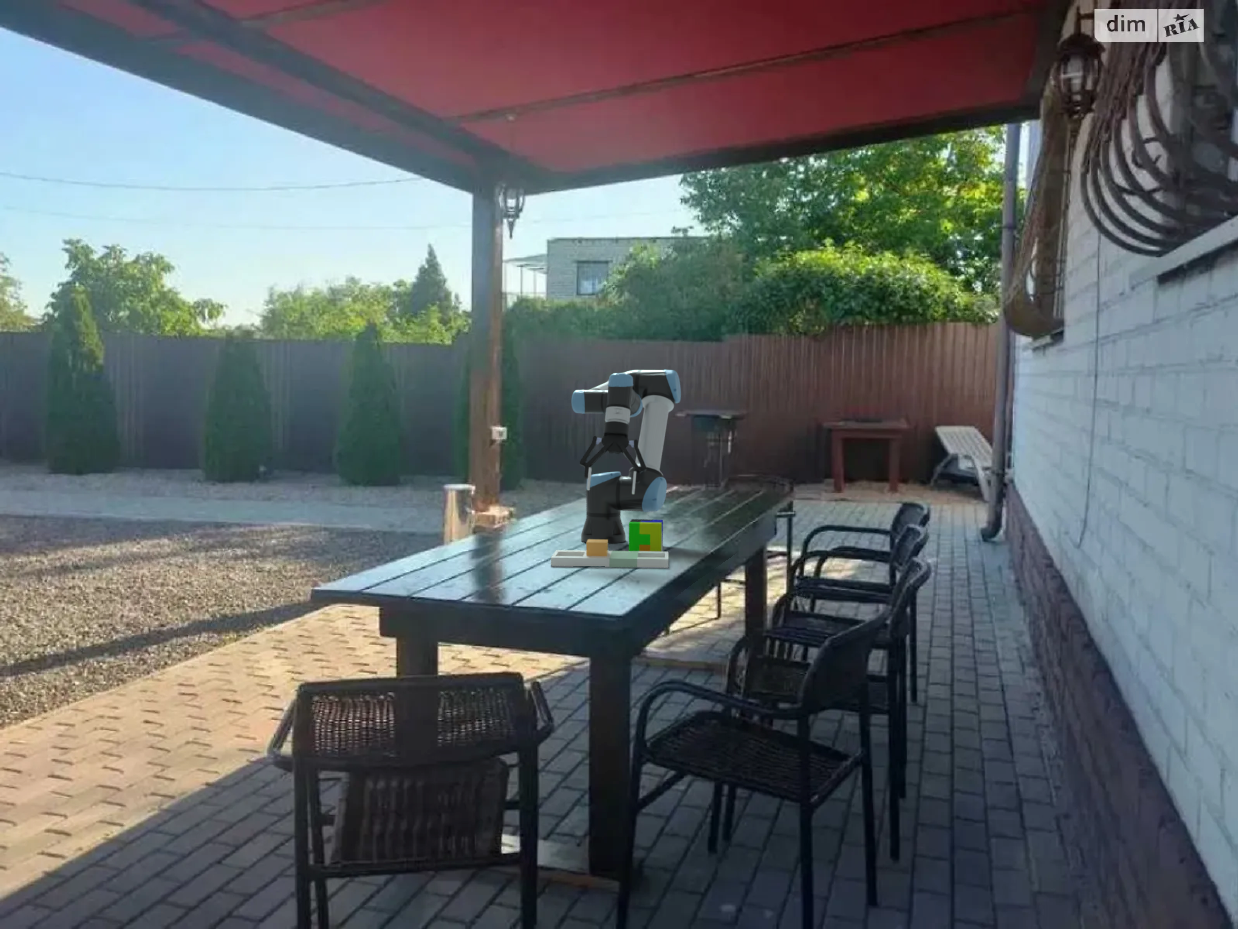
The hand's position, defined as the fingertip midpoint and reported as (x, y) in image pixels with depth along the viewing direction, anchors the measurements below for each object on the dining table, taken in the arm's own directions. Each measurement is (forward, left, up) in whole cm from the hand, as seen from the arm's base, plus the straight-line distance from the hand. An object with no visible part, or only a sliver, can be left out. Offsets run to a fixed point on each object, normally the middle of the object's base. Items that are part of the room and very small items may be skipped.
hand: (610, 491), depth 304 cm
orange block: (+7, -3, -18) cm, 20 cm away
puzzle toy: (-13, +11, -21) cm, 27 cm away
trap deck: (+7, +1, -21) cm, 22 cm away
